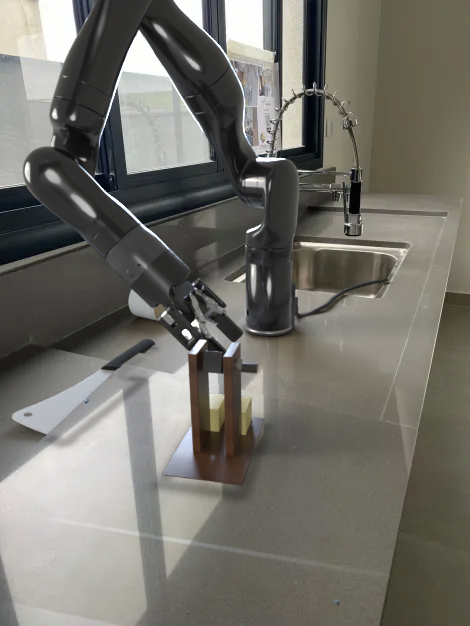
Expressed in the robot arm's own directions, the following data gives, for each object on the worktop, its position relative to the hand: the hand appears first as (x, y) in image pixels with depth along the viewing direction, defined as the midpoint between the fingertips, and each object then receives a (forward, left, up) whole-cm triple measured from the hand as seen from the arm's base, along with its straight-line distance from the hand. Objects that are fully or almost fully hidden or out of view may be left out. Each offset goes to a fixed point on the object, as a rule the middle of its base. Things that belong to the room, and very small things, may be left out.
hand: (232, 349), depth 69 cm
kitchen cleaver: (+11, -18, -9) cm, 23 cm away
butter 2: (+4, +7, -7) cm, 11 cm away
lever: (+6, +6, 0) cm, 8 cm away
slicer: (+9, +8, -9) cm, 15 cm away
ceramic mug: (-12, -42, -9) cm, 45 cm away
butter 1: (+6, +4, -7) cm, 11 cm away
